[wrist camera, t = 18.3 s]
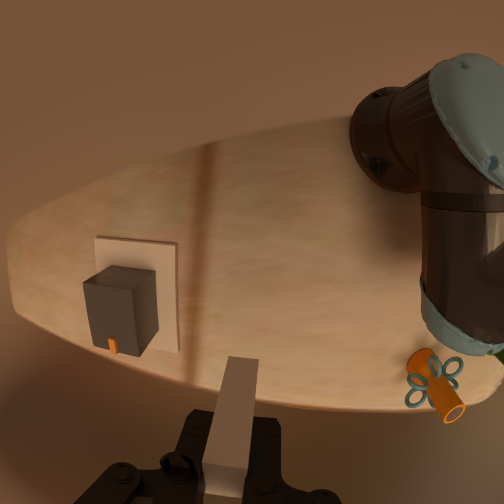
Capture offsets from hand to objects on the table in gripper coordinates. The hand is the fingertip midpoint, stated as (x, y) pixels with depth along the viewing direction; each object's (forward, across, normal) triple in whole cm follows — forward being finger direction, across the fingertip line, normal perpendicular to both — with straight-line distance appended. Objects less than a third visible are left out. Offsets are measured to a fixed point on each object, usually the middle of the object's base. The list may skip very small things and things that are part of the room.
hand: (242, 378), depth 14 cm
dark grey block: (+25, -19, -9) cm, 33 cm away
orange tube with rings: (+27, +31, -18) cm, 45 cm away
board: (+26, -19, -9) cm, 34 cm away
